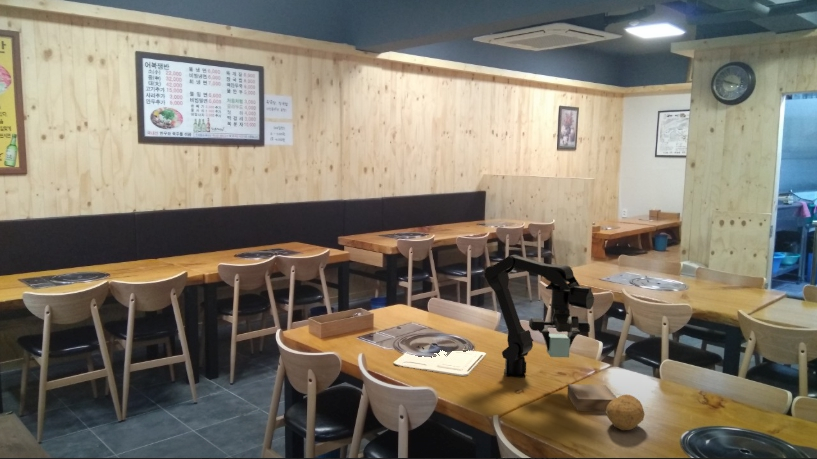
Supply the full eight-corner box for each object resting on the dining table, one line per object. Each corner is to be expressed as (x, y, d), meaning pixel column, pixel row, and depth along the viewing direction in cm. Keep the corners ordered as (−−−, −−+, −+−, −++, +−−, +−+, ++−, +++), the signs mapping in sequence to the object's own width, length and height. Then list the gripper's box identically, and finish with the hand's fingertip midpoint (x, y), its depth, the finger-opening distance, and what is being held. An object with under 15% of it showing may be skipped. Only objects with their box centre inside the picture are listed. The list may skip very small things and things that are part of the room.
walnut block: (577, 411, 177) (578, 398, 177) (567, 396, 189) (568, 384, 189) (617, 412, 177) (618, 399, 177) (605, 397, 189) (605, 385, 189)
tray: (391, 366, 214) (391, 362, 214) (419, 345, 240) (419, 342, 240) (466, 378, 204) (466, 374, 204) (487, 355, 230) (487, 351, 229)
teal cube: (550, 356, 193) (551, 338, 192) (546, 351, 199) (547, 333, 198) (569, 357, 193) (570, 339, 192) (564, 351, 199) (565, 334, 198)
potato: (598, 431, 163) (599, 403, 162) (613, 414, 175) (614, 388, 174) (634, 441, 158) (636, 412, 157) (648, 423, 169) (649, 396, 168)
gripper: (536, 309, 186) (534, 357, 188) (596, 310, 186) (593, 359, 188) (529, 301, 197) (527, 347, 199) (586, 302, 197) (583, 348, 199)
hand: (557, 350), depth 196 cm, fingers closed on teal cube, 6 cm apart
